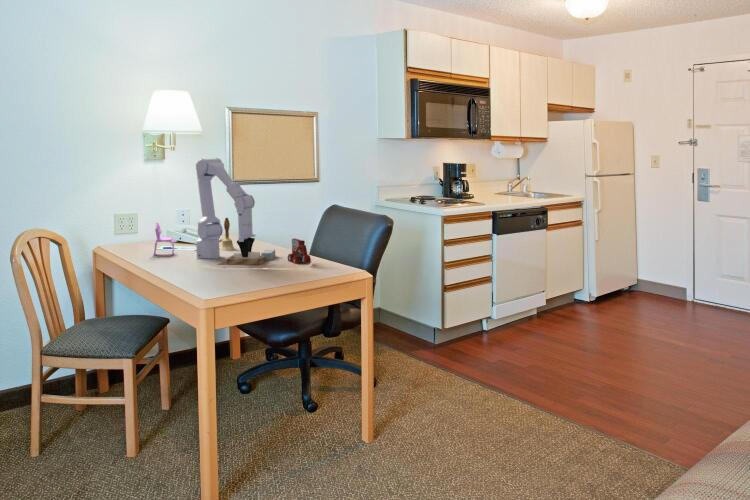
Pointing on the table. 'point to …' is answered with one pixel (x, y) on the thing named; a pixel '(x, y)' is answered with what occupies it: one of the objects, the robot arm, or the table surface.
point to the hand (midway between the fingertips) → (246, 256)
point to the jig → (244, 261)
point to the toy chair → (161, 238)
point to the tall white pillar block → (250, 255)
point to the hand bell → (227, 238)
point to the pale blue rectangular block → (268, 254)
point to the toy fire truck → (299, 252)
